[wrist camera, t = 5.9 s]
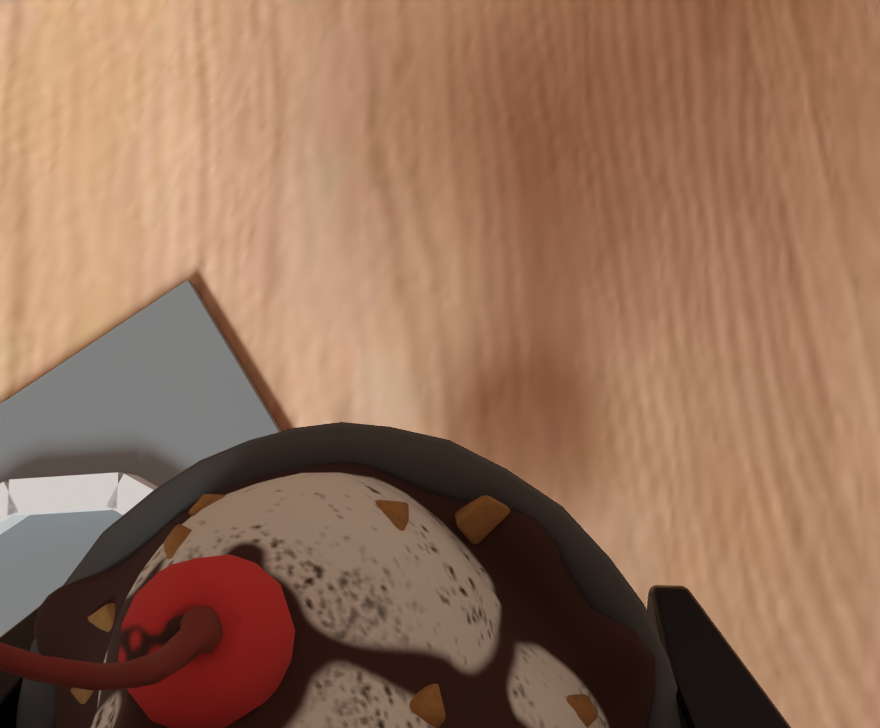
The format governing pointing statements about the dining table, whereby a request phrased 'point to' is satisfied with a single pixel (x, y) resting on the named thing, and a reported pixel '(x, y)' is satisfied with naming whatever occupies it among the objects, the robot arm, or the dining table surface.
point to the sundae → (344, 601)
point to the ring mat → (113, 438)
